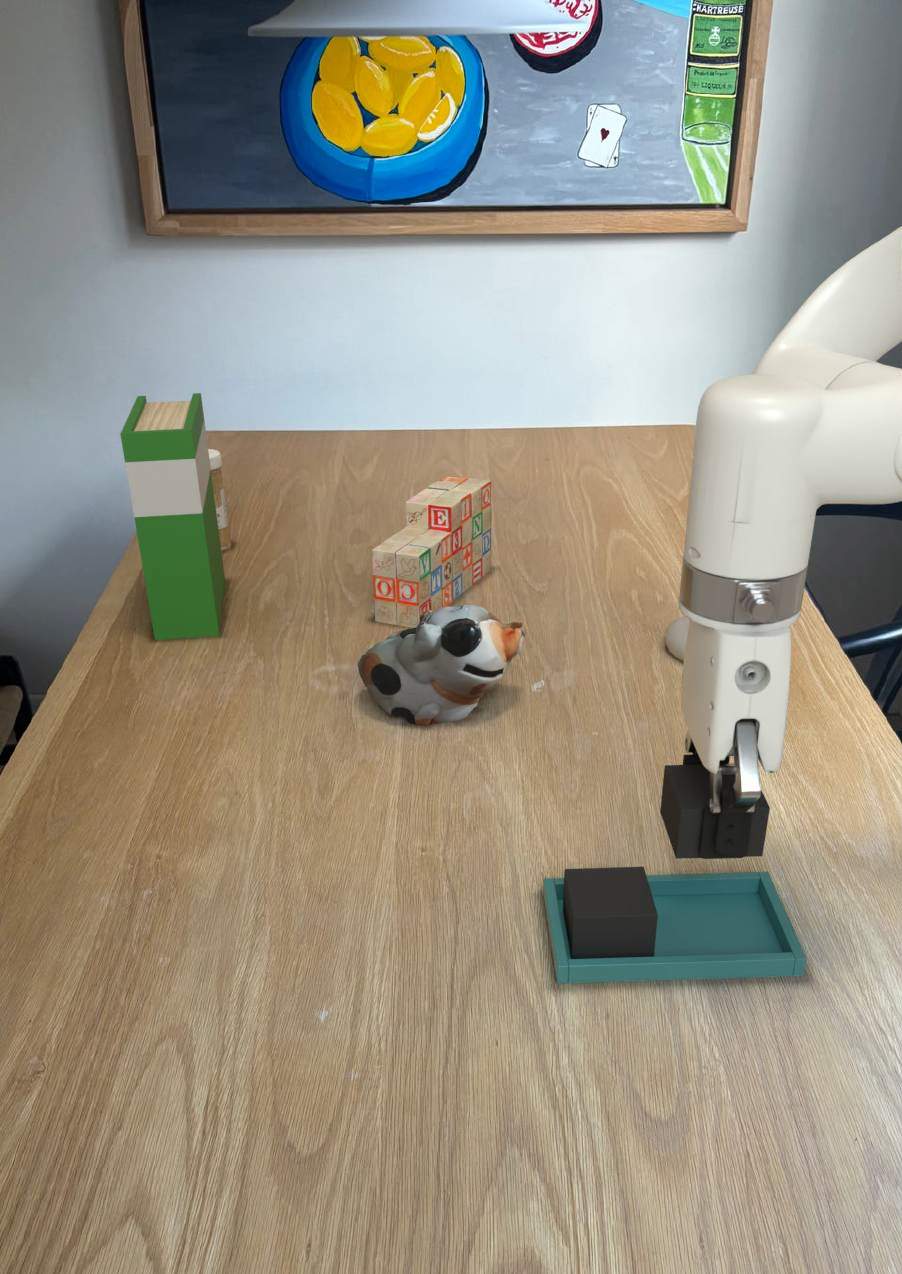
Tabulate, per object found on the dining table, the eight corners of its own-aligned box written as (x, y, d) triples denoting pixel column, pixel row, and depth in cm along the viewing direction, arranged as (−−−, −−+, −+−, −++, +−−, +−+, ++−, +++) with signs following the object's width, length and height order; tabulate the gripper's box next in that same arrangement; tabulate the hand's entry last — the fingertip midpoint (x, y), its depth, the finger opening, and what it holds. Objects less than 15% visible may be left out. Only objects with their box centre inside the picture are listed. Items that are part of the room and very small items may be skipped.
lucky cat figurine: (453, 661, 128) (511, 565, 119) (499, 741, 122) (563, 646, 113) (337, 657, 119) (390, 553, 110) (380, 743, 113) (440, 640, 105)
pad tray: (764, 892, 91) (768, 871, 90) (802, 981, 82) (806, 958, 81) (542, 899, 91) (543, 878, 90) (556, 989, 82) (557, 966, 81)
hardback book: (167, 587, 149) (137, 396, 137) (225, 583, 150) (200, 393, 137) (155, 642, 134) (120, 433, 122) (219, 638, 135) (191, 430, 122)
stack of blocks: (421, 632, 136) (417, 530, 129) (374, 624, 138) (368, 524, 131) (492, 571, 152) (492, 478, 145) (449, 565, 154) (447, 473, 148)
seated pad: (640, 908, 89) (643, 866, 87) (653, 958, 84) (658, 914, 81) (562, 910, 89) (564, 868, 87) (571, 961, 84) (573, 917, 81)
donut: (743, 680, 123) (762, 642, 131) (747, 650, 122) (766, 614, 129) (653, 665, 127) (676, 629, 135) (655, 636, 125) (679, 601, 133)
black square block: (741, 810, 84) (748, 762, 82) (762, 856, 79) (770, 807, 77) (660, 812, 84) (664, 764, 82) (675, 859, 79) (680, 809, 77)
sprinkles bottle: (197, 555, 159) (183, 457, 152) (201, 544, 163) (187, 448, 156) (230, 553, 160) (218, 456, 152) (233, 542, 163) (221, 447, 156)
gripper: (845, 643, 64) (798, 901, 74) (765, 539, 79) (735, 766, 89) (711, 646, 64) (682, 904, 74) (656, 542, 79) (638, 768, 89)
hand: (711, 826), depth 81 cm, fingers closed on black square block, 6 cm apart
